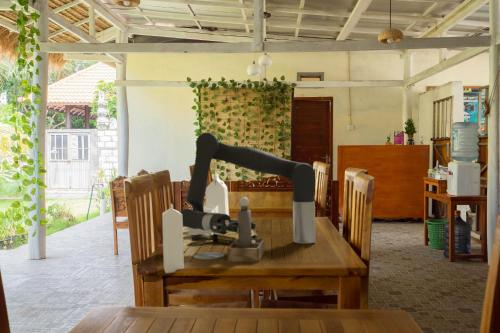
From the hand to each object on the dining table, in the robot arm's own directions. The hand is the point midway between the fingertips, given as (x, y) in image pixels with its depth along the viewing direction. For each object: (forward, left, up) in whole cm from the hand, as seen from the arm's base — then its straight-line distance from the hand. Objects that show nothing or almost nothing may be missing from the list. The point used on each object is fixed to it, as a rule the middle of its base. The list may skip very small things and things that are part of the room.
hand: (246, 227), depth 162 cm
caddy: (0, -5, -12) cm, 13 cm away
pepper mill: (0, 0, -11) cm, 11 cm away
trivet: (+14, -4, -12) cm, 19 cm away
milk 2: (+31, -93, -12) cm, 99 cm away
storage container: (+30, -60, -12) cm, 69 cm away
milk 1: (+22, +13, -12) cm, 29 cm away
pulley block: (+14, -34, -13) cm, 39 cm away
